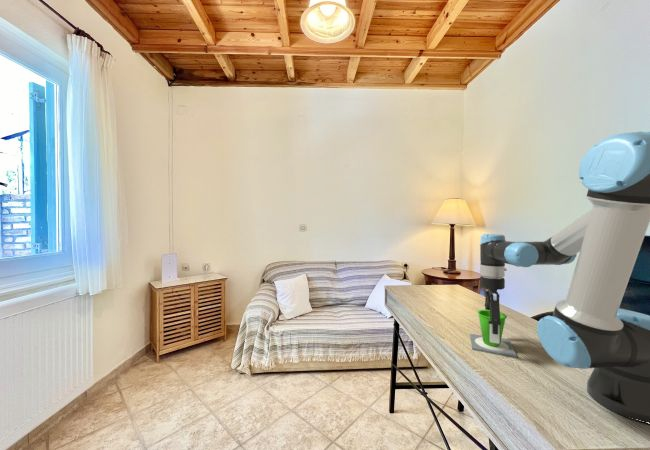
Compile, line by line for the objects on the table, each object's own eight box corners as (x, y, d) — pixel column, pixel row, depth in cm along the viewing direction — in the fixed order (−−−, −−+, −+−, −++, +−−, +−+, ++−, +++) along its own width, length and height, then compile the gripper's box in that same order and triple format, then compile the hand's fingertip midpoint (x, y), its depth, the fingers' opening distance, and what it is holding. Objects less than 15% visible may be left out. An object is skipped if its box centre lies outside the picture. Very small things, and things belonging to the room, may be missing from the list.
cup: (511, 351, 91) (511, 319, 91) (482, 348, 93) (482, 317, 93) (499, 339, 100) (500, 310, 100) (473, 337, 102) (473, 308, 102)
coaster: (516, 357, 88) (516, 355, 88) (472, 349, 94) (472, 347, 94) (509, 341, 100) (509, 339, 100) (469, 335, 105) (469, 333, 105)
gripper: (511, 285, 83) (511, 352, 84) (499, 271, 106) (498, 324, 106) (484, 283, 86) (483, 347, 87) (477, 270, 109) (477, 321, 109)
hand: (491, 334), depth 96 cm, fingers open, 13 cm apart
